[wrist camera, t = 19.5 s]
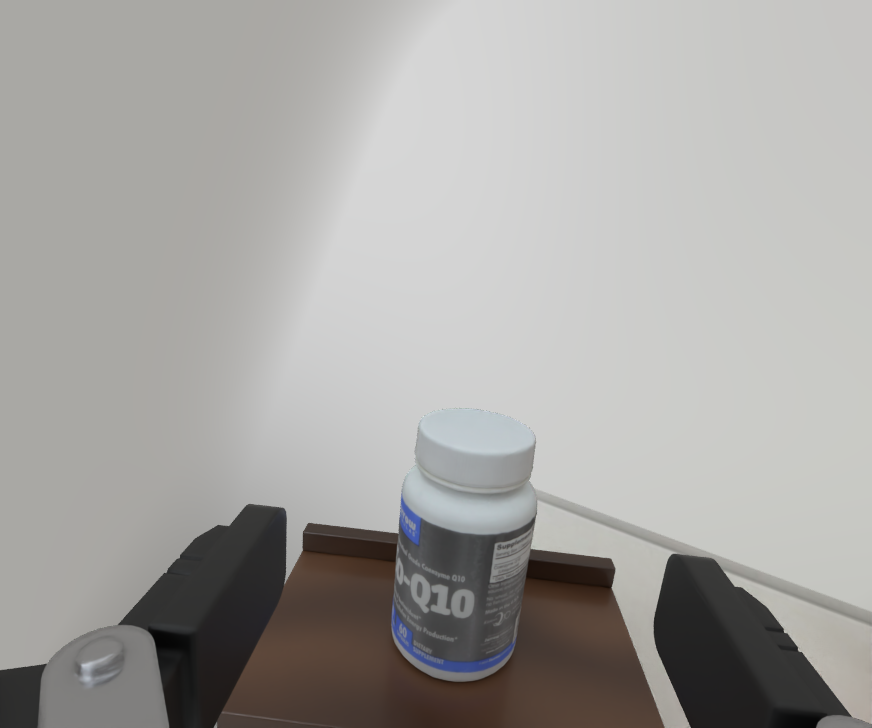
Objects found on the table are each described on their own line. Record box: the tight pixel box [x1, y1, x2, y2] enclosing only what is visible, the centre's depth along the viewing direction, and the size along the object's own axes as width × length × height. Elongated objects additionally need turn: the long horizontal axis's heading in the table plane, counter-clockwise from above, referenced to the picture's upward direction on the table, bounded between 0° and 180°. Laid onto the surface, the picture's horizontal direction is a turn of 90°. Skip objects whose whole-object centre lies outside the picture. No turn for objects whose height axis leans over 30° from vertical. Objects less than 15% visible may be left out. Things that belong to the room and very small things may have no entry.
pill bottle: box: [391, 408, 537, 682], centre depth 19 cm, size 5×5×8 cm
